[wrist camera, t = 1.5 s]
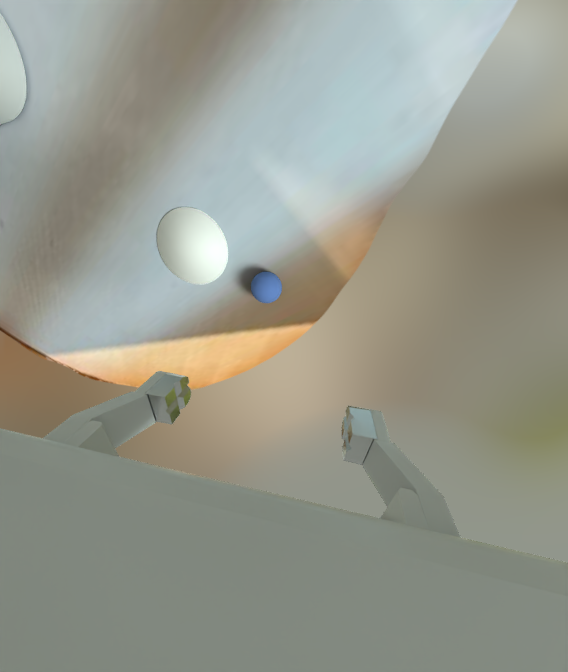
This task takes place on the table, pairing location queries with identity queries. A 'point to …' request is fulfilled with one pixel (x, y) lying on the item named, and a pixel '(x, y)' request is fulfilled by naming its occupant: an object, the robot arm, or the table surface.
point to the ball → (266, 287)
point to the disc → (192, 245)
